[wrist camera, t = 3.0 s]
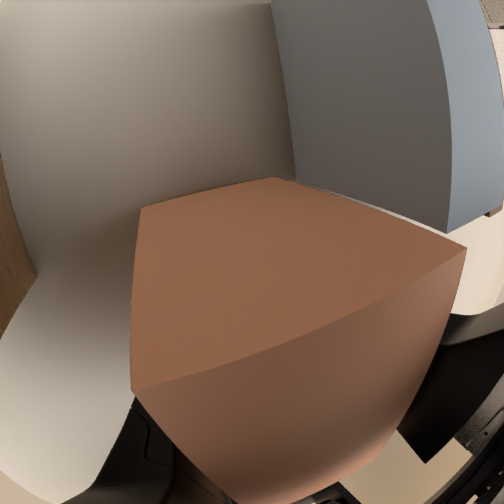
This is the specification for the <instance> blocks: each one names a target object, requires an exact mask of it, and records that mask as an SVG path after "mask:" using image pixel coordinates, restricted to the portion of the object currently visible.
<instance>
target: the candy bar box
mask: <svg viewBox="0 0 504 504" xmlns="http://www.w3.org/2000/svg"><path fill="white" fill-rule="evenodd" d="M478 1H479V2H480V5H481V8H482V10H483V13H484V16H485V19H486V22H487V25H488V28H489V29H504V0H478Z"/></svg>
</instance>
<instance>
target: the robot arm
mask: <svg viewBox="0 0 504 504" xmlns="http://www.w3.org/2000/svg"><path fill="white" fill-rule="evenodd" d="M396 429H397V431H398V432H399V433H400V434H401V435H402V437H403V438H404V439H405V440H406V442H407V443H408V444H409V445H410V447H411V448H412V449H413V450H414V451H415V453H416V454H417V455H418V456H419V458H420V459H421V460H422V461H423V462H424V463H425V464H426V463H427V462H428V461H429V460H430V459H431V458H433V457H434V456H435V455H436V454H437V453H438V452H439V451H440V450H441V449H442V448H443V447H444V446H445V445H446V444H447V443H448V442H449V441H450V440H451V439H452V438H453V437H454V438H455V439H456V440H457V441H458V442H459V443H460V444H461V445H462V446H463V447H464V448H465V449H466V450H469V451H470V452H471V453H472V454H473V456H472V457H471V458H470V459H469V460H468V461H467V462H466V463H465V465H464V466H463V467H462V468H461V469H460V470H459V471H458V472H457V473H456V474H455V475H454V476H453V477H452V478H451V479H450V480H449V481H448V482H447V483H446V484H445V485H444V486H443V487H442V488H441V489H440V490H439V491H438V492H436V493H435V494H434V495H433V496H432V497H431V498H430V499H428V500H427V501H426V502H425V503H424V504H466V503H467V502H468V501H469V500H470V499H471V498H472V496H473V495H475V494H476V495H477V496H478V497H479V498H477V499H476V501H474V503H473V504H504V303H502V304H500V305H498V306H496V307H494V308H492V309H490V310H487V311H485V312H483V313H480V314H477V315H460V314H453V313H450V315H449V318H448V321H447V324H446V327H445V330H444V332H443V335H442V338H441V340H440V343H439V345H438V348H437V350H436V353H435V355H434V357H433V360H432V362H431V364H430V367H429V369H428V371H427V373H426V375H425V377H424V379H423V381H422V383H421V385H420V387H419V389H418V391H417V393H416V395H415V397H414V399H413V401H412V403H411V404H410V406H409V408H408V410H407V412H406V413H405V415H404V417H403V418H402V420H401V422H400V423H399V425H398V427H397V428H396ZM314 502H315V503H316V504H361V503H360V502H359V501H358V500H357V499H356V498H355V497H354V496H353V495H352V494H351V493H350V492H349V491H348V490H347V489H345V488H344V486H343V485H342V484H341V483H340V482H339V481H338V482H336V483H334V484H332V485H330V486H328V487H326V488H324V489H322V490H320V491H318V492H316V493H314V494H312V495H309V496H307V497H305V498H303V499H300V500H298V501H296V502H293V503H291V504H311V503H314ZM62 504H238V503H237V502H235V501H234V500H233V499H232V498H230V497H229V496H228V495H227V494H226V493H225V492H223V491H222V490H221V489H220V488H219V487H218V486H216V485H215V484H214V483H213V482H212V481H211V480H210V479H209V478H208V477H207V476H205V475H204V474H203V473H202V472H201V471H200V470H199V469H198V468H197V467H196V466H195V465H194V464H193V463H192V462H191V461H190V460H189V459H188V458H187V457H186V456H185V455H184V454H183V453H182V452H181V450H180V449H179V448H178V447H177V446H176V445H175V444H174V443H173V442H172V441H171V439H170V438H169V437H168V436H167V435H166V434H165V433H164V431H163V430H162V429H161V428H160V427H159V425H158V424H157V423H156V422H155V421H154V419H153V418H152V417H151V416H150V414H149V413H148V412H147V411H146V409H145V408H144V407H143V405H142V404H141V403H140V401H139V400H138V399H137V397H136V396H135V398H134V400H133V403H132V405H131V408H130V410H129V413H128V415H127V418H126V420H125V422H124V425H123V427H122V429H121V432H120V434H119V436H118V438H117V440H116V442H115V444H114V446H113V448H112V449H111V451H110V453H109V455H108V457H107V459H106V461H105V463H104V465H103V467H102V468H101V470H100V472H99V474H98V476H97V478H96V480H95V481H94V482H93V484H92V485H91V486H90V487H89V488H88V489H87V490H85V491H84V492H82V493H80V494H79V495H77V496H75V497H73V498H71V499H69V500H67V501H65V502H64V503H62Z"/></svg>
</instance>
